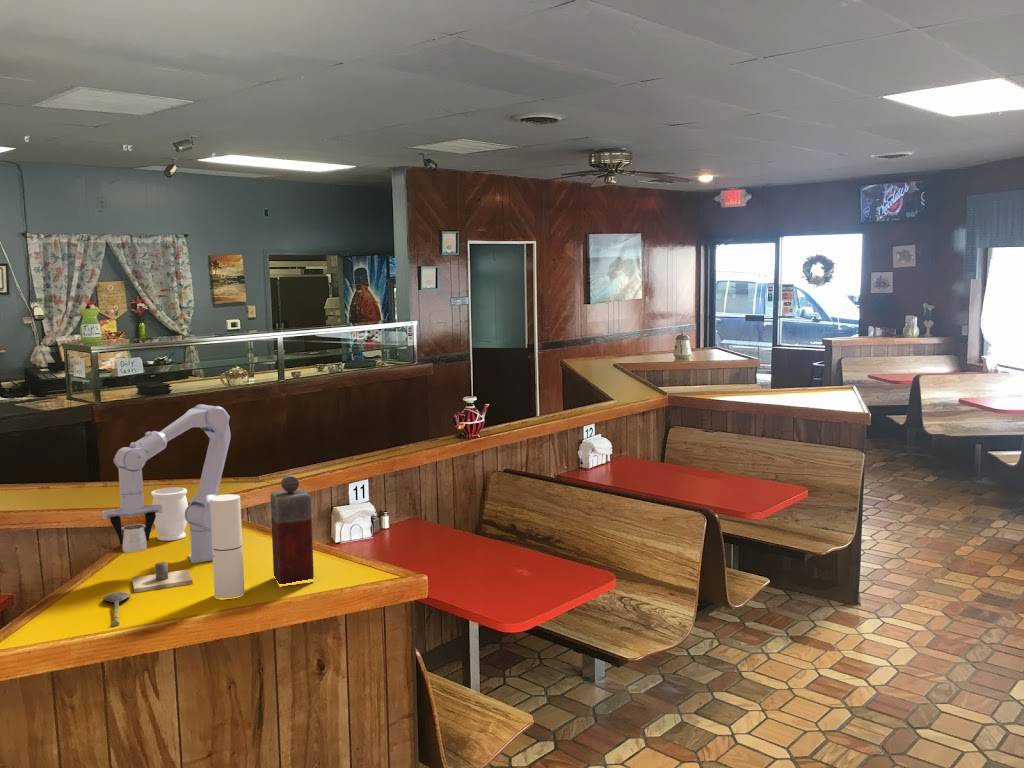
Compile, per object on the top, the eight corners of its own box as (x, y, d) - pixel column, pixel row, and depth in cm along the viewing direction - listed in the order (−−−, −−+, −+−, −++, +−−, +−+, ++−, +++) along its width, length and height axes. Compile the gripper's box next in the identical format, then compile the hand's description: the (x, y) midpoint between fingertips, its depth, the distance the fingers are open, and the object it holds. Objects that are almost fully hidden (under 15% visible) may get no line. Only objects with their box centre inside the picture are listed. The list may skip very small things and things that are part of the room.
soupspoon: (132, 598, 219) (103, 603, 216) (130, 585, 218) (102, 590, 216) (130, 625, 198) (99, 631, 196) (129, 610, 198) (97, 616, 196)
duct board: (187, 573, 235) (187, 555, 234) (192, 583, 226) (191, 565, 225) (131, 581, 228) (130, 562, 228) (134, 592, 219) (133, 573, 219)
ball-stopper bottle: (305, 570, 236) (301, 469, 233) (314, 582, 226) (310, 477, 223) (272, 575, 232) (268, 472, 229) (279, 587, 222) (275, 480, 219)
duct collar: (145, 544, 236) (144, 523, 235) (147, 550, 231) (146, 528, 230) (122, 547, 233) (121, 525, 233) (123, 553, 228) (122, 531, 228)
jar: (196, 536, 272) (194, 489, 270) (168, 544, 263) (165, 495, 261) (175, 531, 277) (172, 485, 276) (146, 539, 269) (143, 491, 267)
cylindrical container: (227, 602, 212) (223, 502, 209) (208, 597, 215) (203, 498, 213) (250, 593, 218) (246, 496, 215) (231, 588, 222) (226, 493, 219)
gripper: (159, 486, 237) (162, 534, 239) (101, 492, 231) (104, 541, 232) (161, 491, 231) (164, 540, 232) (101, 497, 224) (105, 548, 226)
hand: (134, 541), depth 232 cm, fingers closed on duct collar, 6 cm apart
